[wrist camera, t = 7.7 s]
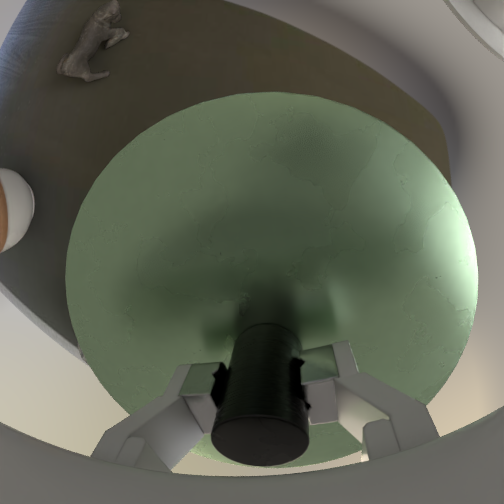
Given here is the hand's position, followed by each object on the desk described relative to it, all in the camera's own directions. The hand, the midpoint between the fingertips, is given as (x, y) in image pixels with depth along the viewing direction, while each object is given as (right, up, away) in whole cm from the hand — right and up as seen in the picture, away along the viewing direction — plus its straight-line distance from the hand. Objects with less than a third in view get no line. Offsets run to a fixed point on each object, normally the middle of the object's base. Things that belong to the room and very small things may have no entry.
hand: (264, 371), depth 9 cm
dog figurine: (-19, +31, +18) cm, 41 cm away
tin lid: (0, 0, +2) cm, 2 cm away
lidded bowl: (-37, +12, +26) cm, 46 cm away
